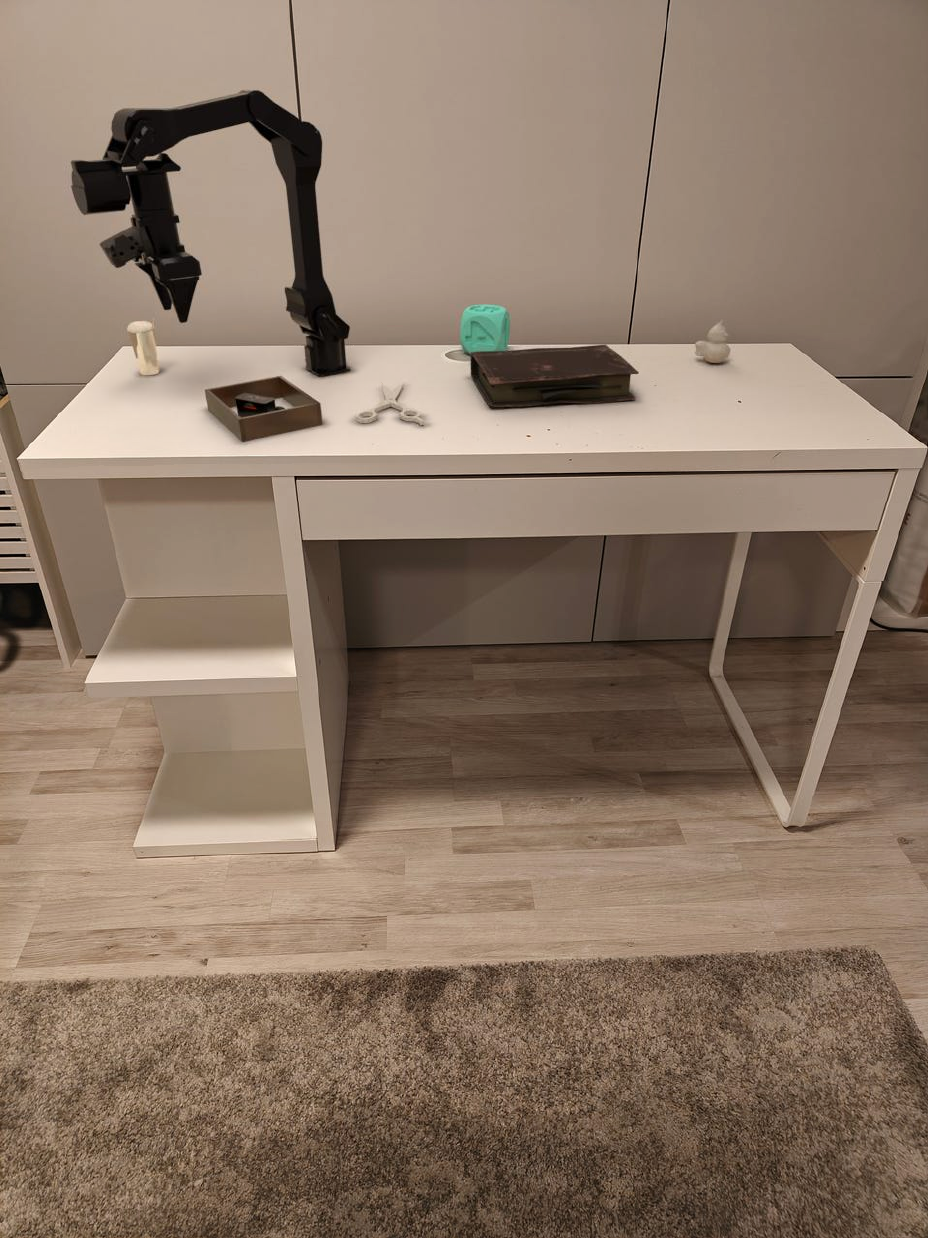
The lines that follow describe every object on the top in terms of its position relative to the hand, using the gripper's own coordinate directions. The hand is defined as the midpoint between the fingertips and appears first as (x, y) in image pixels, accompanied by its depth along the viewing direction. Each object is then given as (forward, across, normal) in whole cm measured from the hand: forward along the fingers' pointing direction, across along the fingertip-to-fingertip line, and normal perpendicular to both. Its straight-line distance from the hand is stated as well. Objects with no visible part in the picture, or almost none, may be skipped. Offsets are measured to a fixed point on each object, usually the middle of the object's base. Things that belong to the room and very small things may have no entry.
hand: (175, 315), depth 132 cm
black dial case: (+14, +14, +8) cm, 21 cm away
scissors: (+14, +20, +28) cm, 37 cm away
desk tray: (+14, +14, +8) cm, 21 cm away
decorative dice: (+15, +2, +57) cm, 59 cm away
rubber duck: (+15, +30, +90) cm, 96 cm away
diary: (+15, +27, +55) cm, 63 cm away
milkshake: (+14, -19, -2) cm, 24 cm away
